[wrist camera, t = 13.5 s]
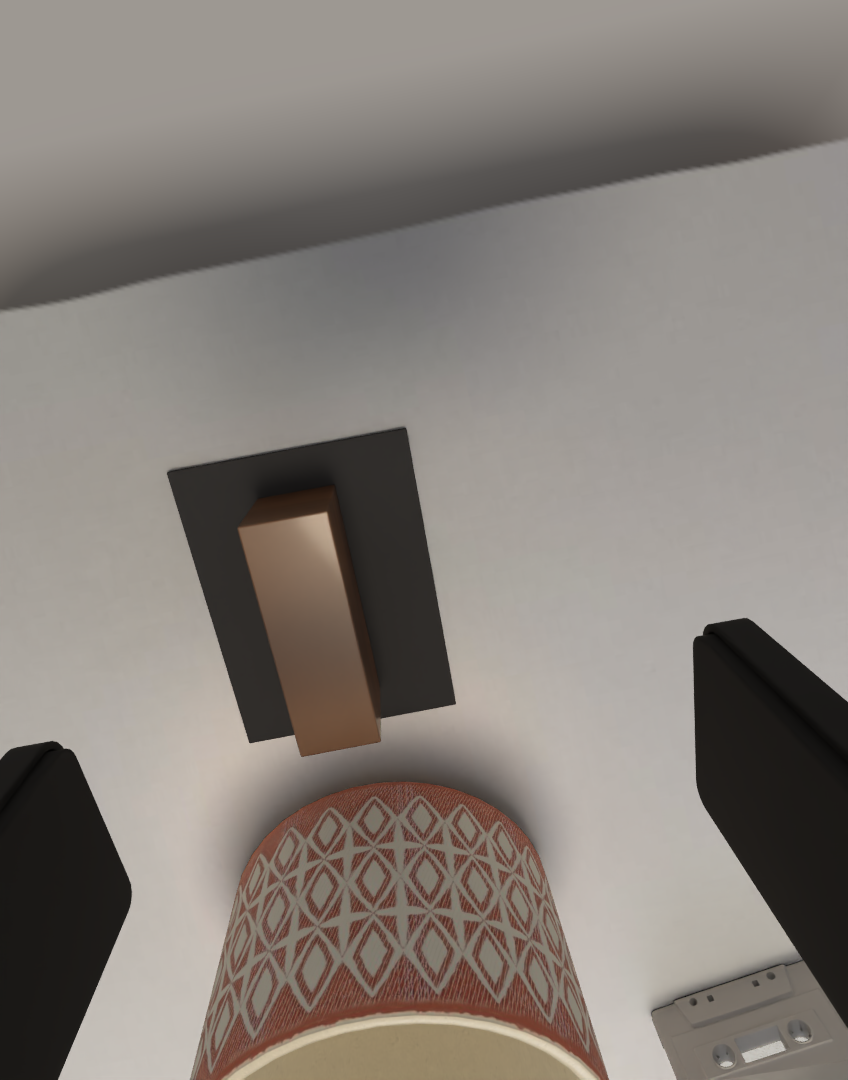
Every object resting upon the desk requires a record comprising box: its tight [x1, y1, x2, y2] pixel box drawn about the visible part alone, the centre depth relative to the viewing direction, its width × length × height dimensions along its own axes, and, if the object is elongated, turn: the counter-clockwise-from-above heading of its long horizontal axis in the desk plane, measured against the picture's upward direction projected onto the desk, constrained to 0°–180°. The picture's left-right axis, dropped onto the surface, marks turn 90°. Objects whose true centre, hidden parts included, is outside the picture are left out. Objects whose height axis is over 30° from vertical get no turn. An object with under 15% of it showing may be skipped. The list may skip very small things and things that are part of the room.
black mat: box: [167, 428, 456, 743], centre depth 35 cm, size 16×12×1 cm
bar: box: [237, 485, 381, 757], centre depth 32 cm, size 12×4×5 cm, turn 10°
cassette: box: [652, 961, 848, 1080], centre depth 43 cm, size 12×2×8 cm, turn 111°
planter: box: [190, 782, 609, 1080], centre depth 34 cm, size 19×19×15 cm
